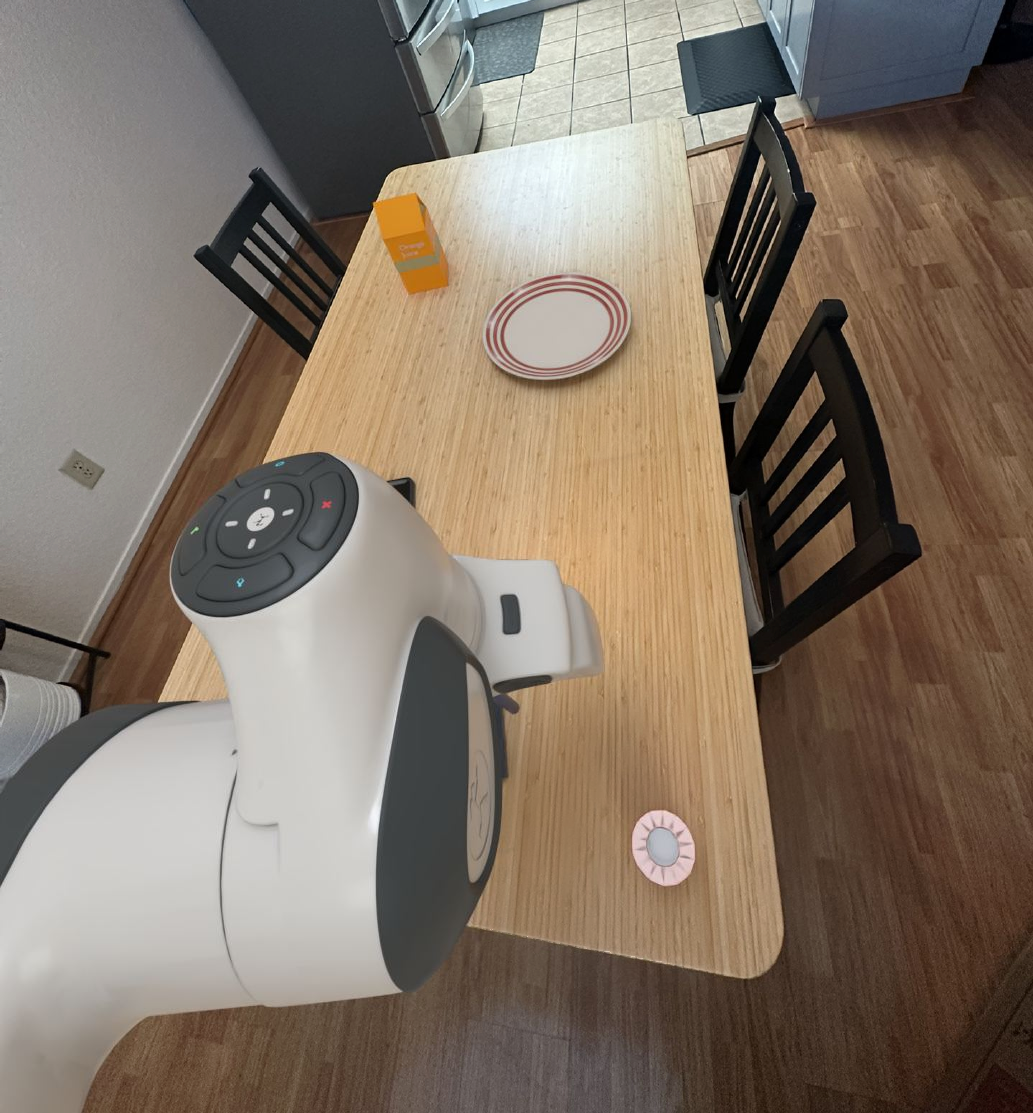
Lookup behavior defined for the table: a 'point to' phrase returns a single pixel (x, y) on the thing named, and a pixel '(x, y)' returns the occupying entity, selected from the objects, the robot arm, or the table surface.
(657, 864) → the holder
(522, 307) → the dinner plate
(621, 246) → the table surface
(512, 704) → the stylus
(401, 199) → the orange juice
